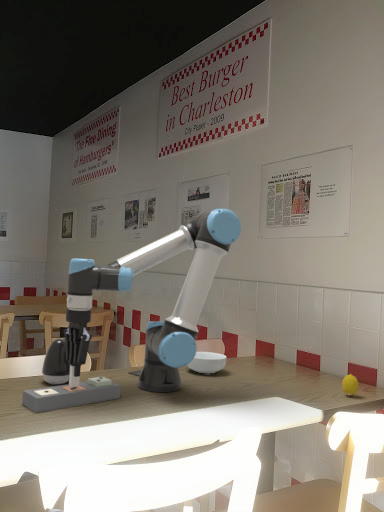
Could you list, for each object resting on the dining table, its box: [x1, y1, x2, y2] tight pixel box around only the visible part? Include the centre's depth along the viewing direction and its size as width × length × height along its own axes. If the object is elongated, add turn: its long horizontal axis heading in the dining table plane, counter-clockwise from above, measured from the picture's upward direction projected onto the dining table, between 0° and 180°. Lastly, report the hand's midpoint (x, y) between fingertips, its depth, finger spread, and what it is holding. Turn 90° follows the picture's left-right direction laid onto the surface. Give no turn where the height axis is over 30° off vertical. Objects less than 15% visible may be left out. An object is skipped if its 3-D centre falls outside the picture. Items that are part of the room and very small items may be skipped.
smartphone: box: [127, 369, 142, 378], centre depth 190 cm, size 7×1×15 cm
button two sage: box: [86, 376, 113, 388], centre depth 153 cm, size 6×6×3 cm
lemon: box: [341, 373, 359, 395], centre depth 172 cm, size 6×6×8 cm
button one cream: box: [33, 389, 59, 396], centre depth 140 cm, size 6×6×3 cm
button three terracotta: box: [61, 386, 86, 392], centre depth 147 cm, size 6×6×3 cm
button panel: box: [21, 381, 122, 414], centre depth 147 cm, size 28×9×4 cm, turn 133°
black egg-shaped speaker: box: [41, 338, 70, 386], centre depth 167 cm, size 10×10×15 cm
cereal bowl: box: [186, 351, 227, 374], centre depth 197 cm, size 17×17×7 cm
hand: (74, 386), depth 147 cm, fingers closed
